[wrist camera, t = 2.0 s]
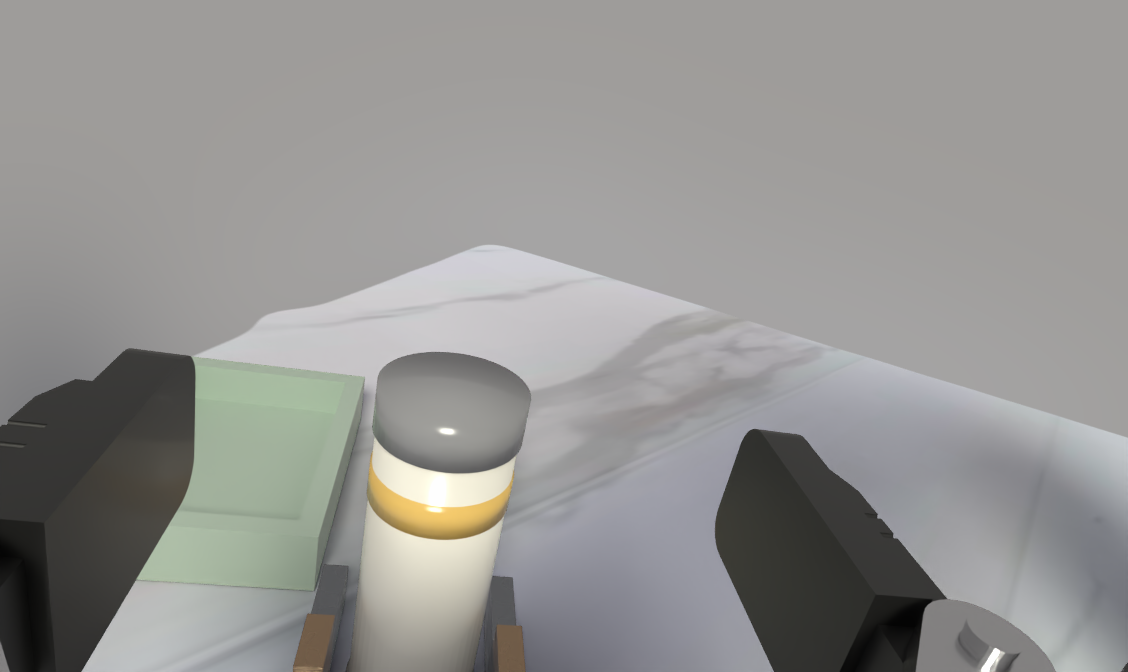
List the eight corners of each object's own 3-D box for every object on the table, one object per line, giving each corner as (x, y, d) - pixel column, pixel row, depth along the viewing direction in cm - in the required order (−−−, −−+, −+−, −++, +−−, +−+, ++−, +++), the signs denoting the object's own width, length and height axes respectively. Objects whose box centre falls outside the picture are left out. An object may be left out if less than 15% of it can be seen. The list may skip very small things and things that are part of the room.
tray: (360, 418, 46) (365, 377, 45) (314, 590, 32) (318, 537, 31) (174, 398, 44) (173, 354, 43) (40, 573, 30) (34, 515, 29)
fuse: (468, 655, 31) (525, 361, 25) (467, 761, 26) (537, 434, 21) (352, 649, 30) (386, 344, 24) (331, 758, 25) (367, 416, 20)
